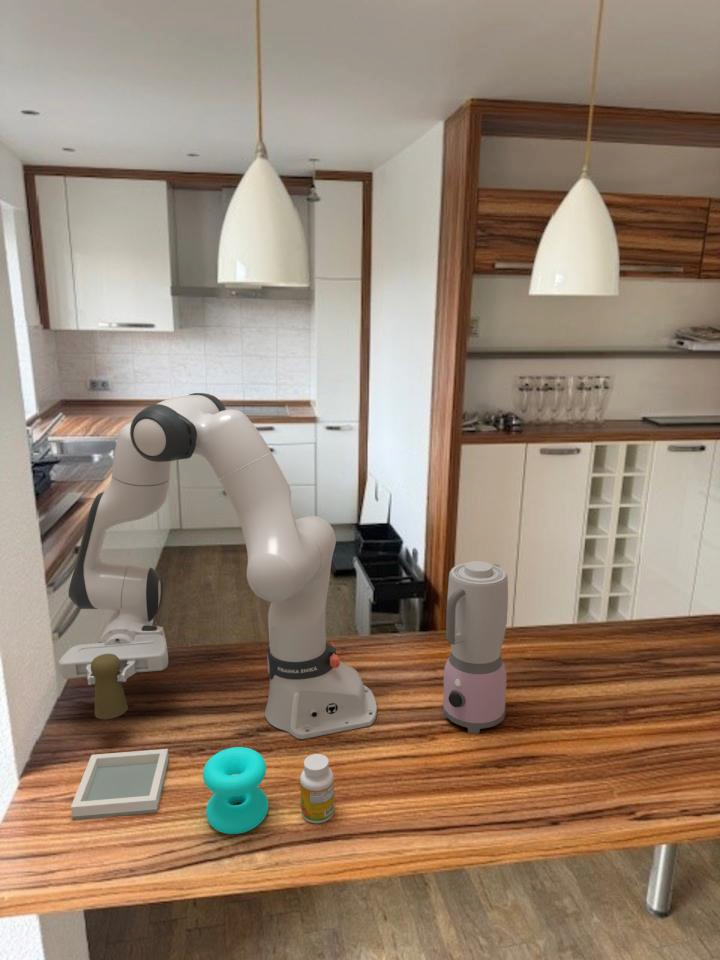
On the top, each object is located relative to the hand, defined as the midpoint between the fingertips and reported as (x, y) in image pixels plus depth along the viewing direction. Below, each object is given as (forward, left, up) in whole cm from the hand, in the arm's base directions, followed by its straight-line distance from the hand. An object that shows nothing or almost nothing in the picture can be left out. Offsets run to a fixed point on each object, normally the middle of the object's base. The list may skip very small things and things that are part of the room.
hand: (106, 680), depth 133 cm
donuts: (-25, +23, -13) cm, 36 cm away
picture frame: (-5, +14, -13) cm, 20 cm away
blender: (-69, +2, -13) cm, 70 cm away
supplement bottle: (-38, +24, -13) cm, 47 cm away
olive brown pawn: (0, -1, -7) cm, 7 cm away
